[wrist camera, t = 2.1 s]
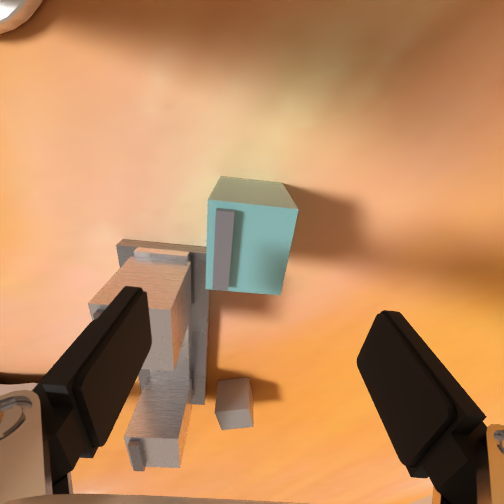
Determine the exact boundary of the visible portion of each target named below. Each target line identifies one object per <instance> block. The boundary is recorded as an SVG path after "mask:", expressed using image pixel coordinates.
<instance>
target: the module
mask: <svg viewBox="0 0 504 504" xmlns="http://www.w3.org/2000/svg"><path fill="white" fill-rule="evenodd" d="M298 211H299V209H298V207H297V206H296V204H295V203H294V201H293V199H292V198H291V196H290V194H289V193H288V191H287V190H286V188H285V186H284V185H283V183H277V182H269V181H260V180H251V179H243V178H234V177H225V176H221V177H220V179H219V180H218V182H217V184H216V186H215V188H214V190H213V191H212V193H211V195H210V197H209V199H208V215H207V251H206V287H205V289H210V290H222V291H234V292H246V293H258V294H271V295H280V294H281V290H282V285H283V280H284V276H285V271H286V266H287V262H288V257H289V253H290V248H291V243H292V239H293V234H294V229H295V225H296V220H297V215H298Z"/></svg>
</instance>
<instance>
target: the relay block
mask: <svg viewBox="0 0 504 504" xmlns="http://www.w3.org/2000/svg"><path fill="white" fill-rule="evenodd" d="M215 414H216V417H217V419H218V422H219V424H220V427H221V429H222V430H227V429H237V428H247V427H253V394H252V390H251V386H250V382H249V378H248V377H245V378H236V379H227V380H218V388H217V397H216V405H215Z"/></svg>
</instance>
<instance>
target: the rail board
mask: <svg viewBox="0 0 504 504" xmlns="http://www.w3.org/2000/svg"><path fill="white" fill-rule="evenodd" d="M116 247H117V253H118V259H119V265H120V269H119V270H118V271H117V272H116V273H115V274H114V275H113V276H112V278H111V279H110V280H109V281H108V282H107V283H106V284H105V285H104V286H103V287H102V289H101V290H100V291H99V292H98V293H97V294H96V295H95V296H94V297H93V298H92V300H91V301H90V302H89V303H88V305H89V309H90V313H91V317H92V320H95V319H97V318H98V317H99V316H100V315H101V314H102V312H103V311H104V310H105V309H106V308H107V306H108V305H109V304H110V303H111V302H112V301H113V299H114V298H115V297H116V296H117V295H118V293H119V292H120V291H121V290H122V289H123V288H124V287H125V286H133V287H141V288H142V289H143V291H146V292H147V297H148V307H149V316H150V326H151V335H152V345H151V349H150V351H149V353H148V355H147V357H146V360H145V362H144V364H143V366H142V368H141V370H140V372H139V374H138V375H139V381H140V387H141V395H140V398H139V400H138V403H137V405H136V408H135V410H134V413H133V415H132V418H131V420H130V423H129V425H128V428H127V430H126V433H125V435H124V440H125V443H126V447H127V451H128V455H129V458H130V462H131V466H133V469H134V471H144V470H145V467H168V468H180V465H181V460H182V455H183V450H184V445H185V440H186V435H187V430H188V425H189V420H190V415H191V410H192V404H201V405H204V404H205V398H206V380H207V355H208V330H209V304H210V289H205V287H206V251H207V247H200V246H189V245H178V244H168V243H157V242H147V241H136V240H125V239H122V240H121V241H120V242H119V243H118V244H117V245H116Z"/></svg>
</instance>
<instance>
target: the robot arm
mask: <svg viewBox="0 0 504 504" xmlns="http://www.w3.org/2000/svg"><path fill="white" fill-rule="evenodd" d="M41 3H42V0H0V34H1V33H4V32H8V31H11V30H14V29H16V28H17V27H18V26H20V25H21V24H23V23H24V22H26V21H27V20H28V19H30V17H31V16H32V15H33V13H34V12H35V11H36V10H37V8H38V7H39V6H40V4H41ZM151 345H152V335H151V326H150V316H149V307H148V297H147V292H146V291H143V289H142V288H141V287H133V286H125V287H124V288H123V289H122V290H121V291H120V292H119V293H118V295H117V296H116V297H115V298H114V299H113V301H112V302H111V303H110V304H109V305H108V306H107V308H106V309H105V310H104V311H103V312H102V314H101V315H100V316H99V317H98V318H97V319H95V320H93V321H92V322H91V323H90V324H89V325H88V326H87V327H86V328H85V330H84V331H83V332H82V333H81V334H80V335H79V337H78V338H77V339H76V340H75V341H74V342H73V343H72V345H71V346H70V347H69V348H68V349H67V350H66V352H65V353H64V354H63V355H62V356H61V357H60V359H59V360H58V361H57V362H56V363H55V364H54V365H53V367H52V368H51V369H50V370H49V371H48V372H47V374H46V375H45V376H44V377H43V378H42V379H41V381H40V382H39V383H38V384H37V385H36V386H35V388H34V389H33V390H32V391H28V390H19V391H13V392H10V393H7V394H4V395H1V396H0V504H308V503H289V502H270V501H251V500H231V499H210V498H189V497H168V496H146V495H110V494H73V488H72V480H71V473H70V471H72V470H73V469H74V467H75V465H76V463H77V461H78V459H79V457H81V458H93V457H94V455H95V453H96V451H97V449H98V447H102V446H103V445H104V444H105V443H106V441H107V439H108V437H109V435H110V433H111V431H112V429H113V427H114V425H115V422H116V420H117V418H118V416H119V414H120V412H121V410H122V408H123V406H124V404H125V402H126V399H127V397H128V395H129V393H130V391H131V389H132V387H133V385H134V383H135V381H136V378H137V376H138V374H139V372H140V370H141V368H142V366H143V364H144V362H145V360H146V357H147V355H148V353H149V351H150V349H151ZM357 366H358V369H359V371H360V373H361V375H362V378H363V380H364V382H365V384H366V387H367V389H368V391H369V393H370V395H371V398H372V400H373V402H374V404H375V407H376V409H377V411H378V413H379V415H380V418H381V420H382V422H383V424H384V427H385V429H386V431H387V433H388V435H389V438H390V440H391V442H392V444H393V446H394V449H395V451H396V453H397V455H398V458H399V459H400V461H401V462H402V464H404V465H406V467H407V470H408V472H409V474H410V476H411V477H416V478H428V477H430V479H431V481H432V483H433V485H434V488H433V499H432V504H504V426H503V425H499V424H491V425H490V426H488V427H487V426H486V425H485V424H484V423H483V420H484V419H485V418H486V416H485V415H484V413H483V412H482V411H481V410H480V408H479V407H478V406H477V405H476V404H475V402H474V401H473V400H472V399H471V398H470V396H469V395H468V394H467V393H466V392H465V390H464V389H463V388H462V387H461V385H460V384H459V383H458V382H457V381H456V379H455V378H454V377H453V376H452V375H451V373H450V372H449V371H448V370H447V369H446V367H445V366H444V365H443V364H442V363H441V361H440V360H439V359H438V358H437V356H436V355H435V354H434V353H433V352H432V350H431V349H430V348H429V347H428V346H427V344H426V343H425V342H424V341H423V340H422V338H421V337H420V336H419V335H418V334H417V332H416V331H415V330H414V329H413V327H412V326H411V325H410V324H409V323H408V321H407V320H406V319H405V318H404V317H403V315H402V314H401V313H400V312H396V311H386V310H384V311H382V312H381V313H380V314H377V316H376V318H375V320H374V322H373V324H372V327H371V329H370V331H369V333H368V335H367V337H366V340H365V342H364V344H363V346H362V348H361V351H360V353H359V355H358V357H357Z"/></svg>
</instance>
